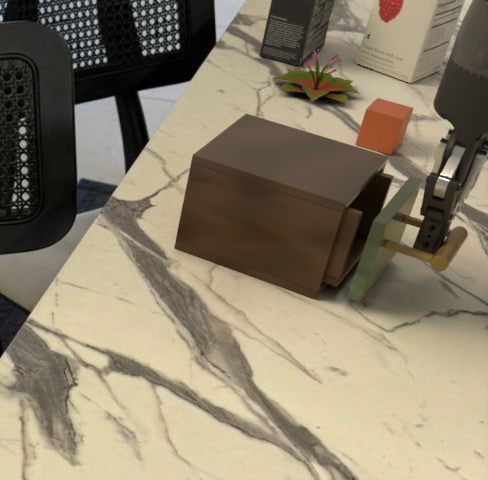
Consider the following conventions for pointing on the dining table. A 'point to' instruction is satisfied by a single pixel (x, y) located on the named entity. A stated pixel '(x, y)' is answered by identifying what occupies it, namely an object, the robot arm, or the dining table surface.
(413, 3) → the rectangular carton
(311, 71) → the lily flower
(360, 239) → the drawer
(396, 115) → the block
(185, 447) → the dining table surface
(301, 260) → the cabinet
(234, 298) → the dining table surface
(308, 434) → the dining table surface
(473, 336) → the dining table surface
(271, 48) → the small box
